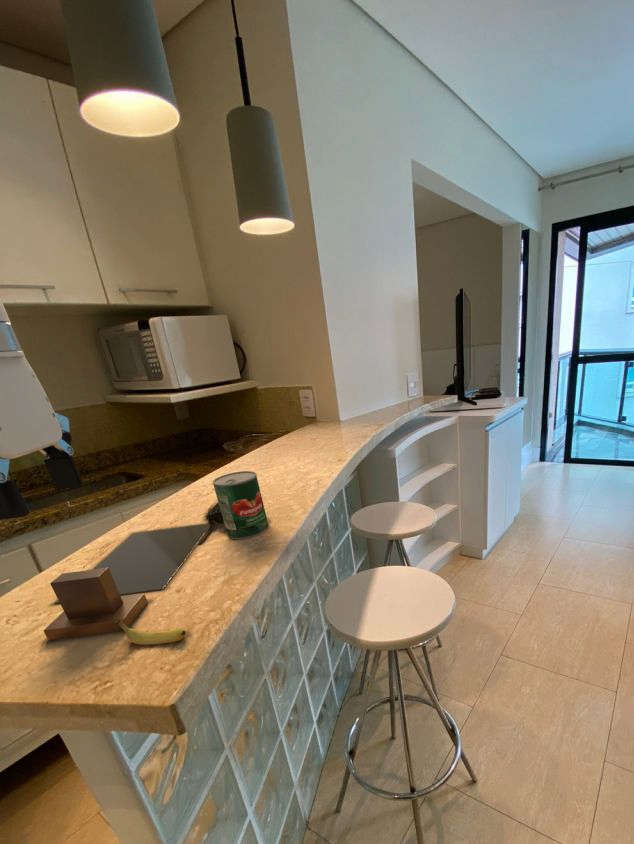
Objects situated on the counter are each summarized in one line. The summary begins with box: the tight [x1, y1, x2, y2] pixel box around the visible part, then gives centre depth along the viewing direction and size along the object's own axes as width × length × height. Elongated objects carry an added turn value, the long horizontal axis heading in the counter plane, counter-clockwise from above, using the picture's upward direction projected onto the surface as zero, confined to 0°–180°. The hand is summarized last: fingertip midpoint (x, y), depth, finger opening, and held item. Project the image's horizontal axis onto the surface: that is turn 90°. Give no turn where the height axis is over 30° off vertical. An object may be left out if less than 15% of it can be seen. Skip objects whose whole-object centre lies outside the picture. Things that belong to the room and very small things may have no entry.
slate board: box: [53, 522, 214, 605], centre depth 72 cm, size 16×24×1 cm, turn 4°
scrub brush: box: [43, 568, 148, 641], centre depth 54 cm, size 10×6×8 cm, turn 95°
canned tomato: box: [212, 470, 270, 541], centre depth 78 cm, size 8×8×11 cm
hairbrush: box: [205, 498, 223, 521], centre depth 94 cm, size 8×4×25 cm
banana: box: [115, 619, 186, 646], centre depth 49 cm, size 8×2×4 cm, turn 87°
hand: (44, 500), depth 48 cm, fingers open, 9 cm apart
